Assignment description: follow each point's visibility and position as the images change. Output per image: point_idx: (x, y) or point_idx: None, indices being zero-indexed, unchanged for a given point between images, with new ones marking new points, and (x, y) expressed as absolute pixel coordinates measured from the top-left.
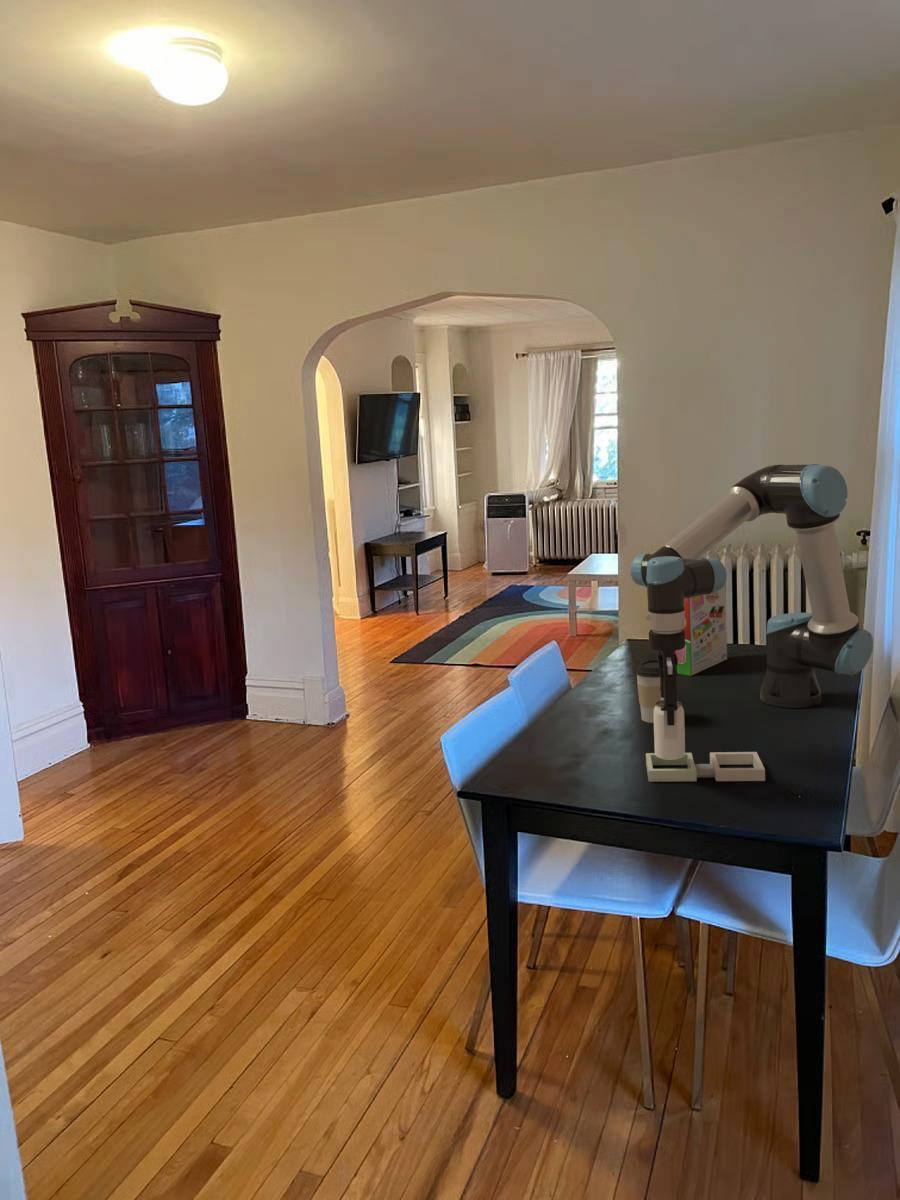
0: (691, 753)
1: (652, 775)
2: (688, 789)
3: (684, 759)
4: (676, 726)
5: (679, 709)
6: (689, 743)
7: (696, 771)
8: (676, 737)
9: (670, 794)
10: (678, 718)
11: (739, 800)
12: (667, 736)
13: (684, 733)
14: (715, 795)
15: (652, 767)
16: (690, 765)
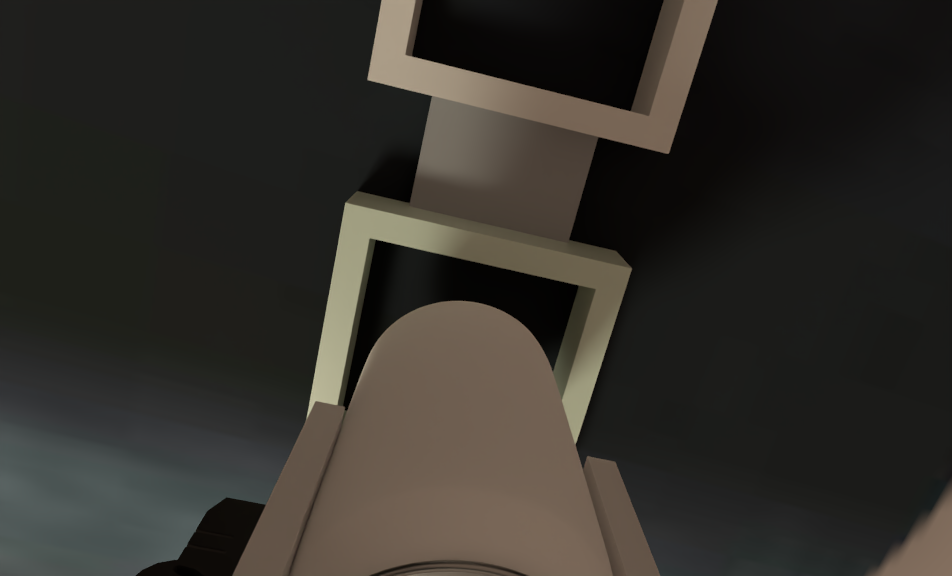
0: (359, 206)
1: None
2: (697, 323)
3: (370, 247)
4: (639, 535)
5: None
6: (17, 89)
7: (522, 221)
8: (614, 473)
9: (722, 420)
10: (602, 544)
11: (925, 117)
12: None
13: (512, 375)
14: (817, 217)
15: None
16: (551, 277)
